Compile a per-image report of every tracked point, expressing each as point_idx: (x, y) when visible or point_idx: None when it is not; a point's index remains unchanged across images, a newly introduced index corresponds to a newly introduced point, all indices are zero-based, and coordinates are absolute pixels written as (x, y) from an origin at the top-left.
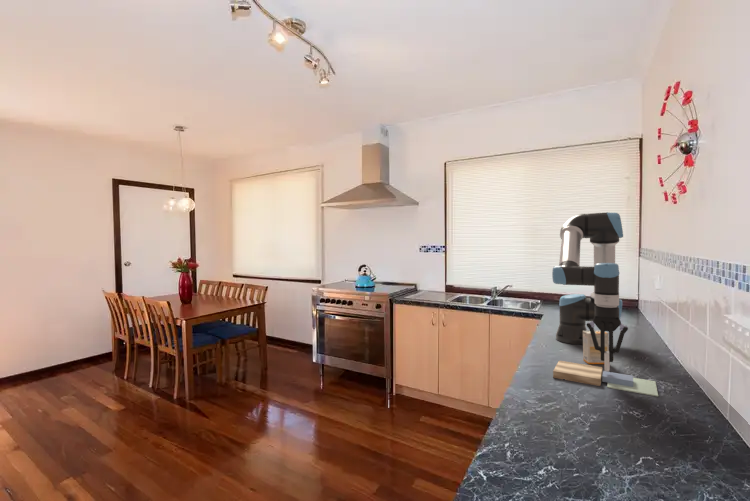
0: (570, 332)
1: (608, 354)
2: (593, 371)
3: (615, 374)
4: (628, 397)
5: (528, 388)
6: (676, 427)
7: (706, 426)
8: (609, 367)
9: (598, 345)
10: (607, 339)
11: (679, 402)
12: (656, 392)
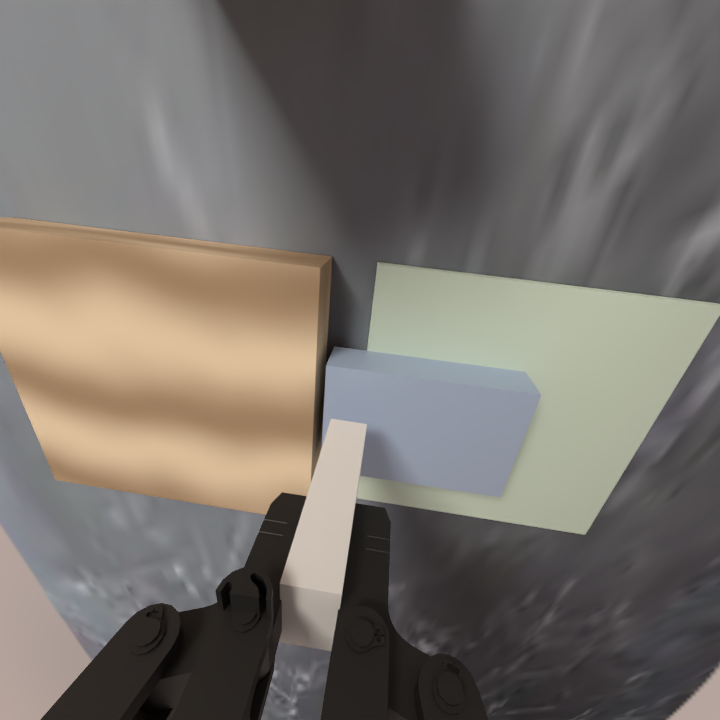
0: None
1: (328, 637)
2: (260, 410)
3: (409, 412)
4: (430, 562)
5: (76, 574)
6: (518, 691)
7: (622, 680)
8: (361, 463)
9: (152, 687)
10: None
11: (657, 558)
12: (597, 504)
